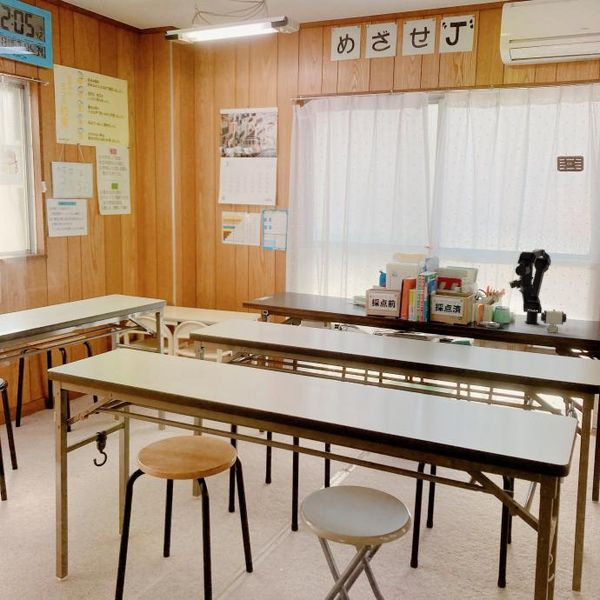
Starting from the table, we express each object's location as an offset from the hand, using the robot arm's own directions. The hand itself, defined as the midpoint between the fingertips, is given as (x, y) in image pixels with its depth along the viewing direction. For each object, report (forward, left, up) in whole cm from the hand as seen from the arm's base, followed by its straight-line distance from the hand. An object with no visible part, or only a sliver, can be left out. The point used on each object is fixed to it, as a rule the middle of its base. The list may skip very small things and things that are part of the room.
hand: (524, 303), depth 332 cm
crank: (+5, -19, -12) cm, 23 cm away
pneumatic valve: (+12, +12, -13) cm, 21 cm away
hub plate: (+7, -17, -12) cm, 22 cm away
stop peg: (+6, -13, -12) cm, 19 cm away
